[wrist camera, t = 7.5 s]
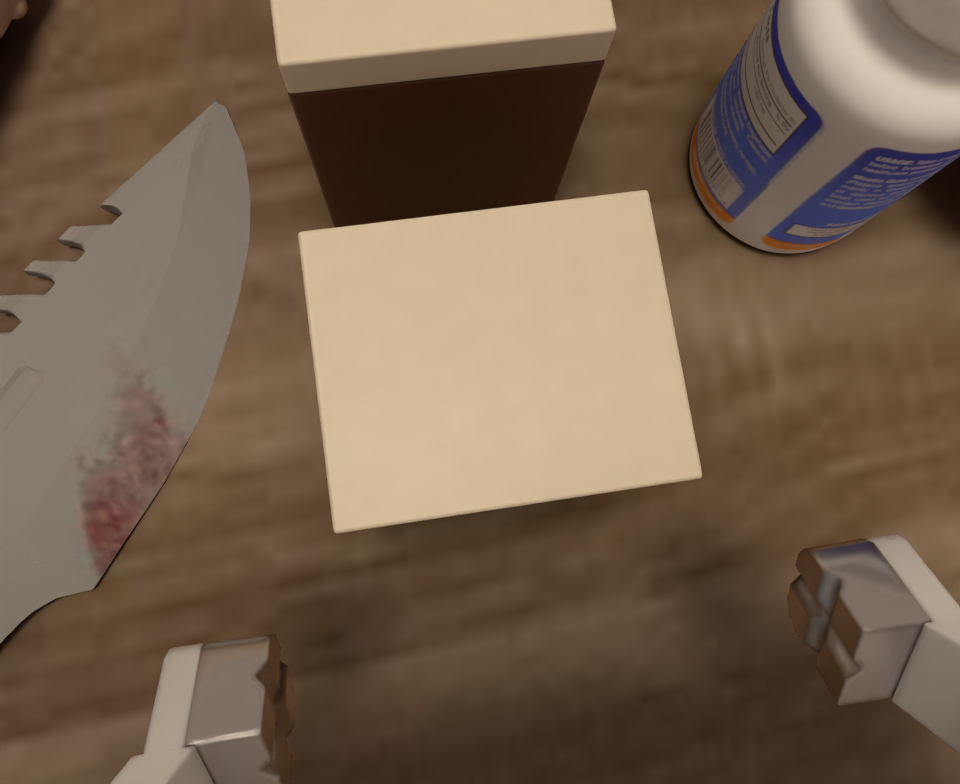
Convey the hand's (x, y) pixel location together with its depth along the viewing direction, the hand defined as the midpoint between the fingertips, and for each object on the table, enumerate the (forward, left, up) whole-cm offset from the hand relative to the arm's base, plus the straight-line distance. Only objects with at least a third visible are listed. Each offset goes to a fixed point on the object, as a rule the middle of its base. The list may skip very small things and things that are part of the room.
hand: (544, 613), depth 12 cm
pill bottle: (+9, +10, -8) cm, 16 cm away
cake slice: (0, +4, -8) cm, 9 cm away
